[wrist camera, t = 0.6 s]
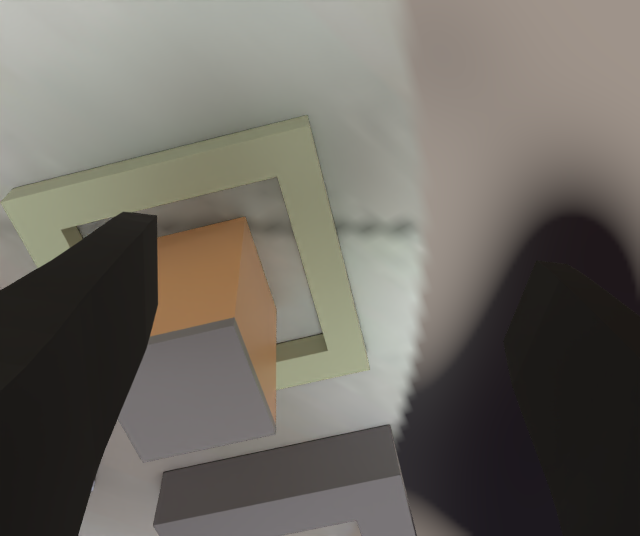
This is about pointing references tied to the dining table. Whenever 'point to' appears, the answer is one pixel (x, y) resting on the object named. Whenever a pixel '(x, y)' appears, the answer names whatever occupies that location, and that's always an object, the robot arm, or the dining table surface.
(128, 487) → the dining table surface
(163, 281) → the plug
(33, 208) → the tray
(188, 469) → the socket block
